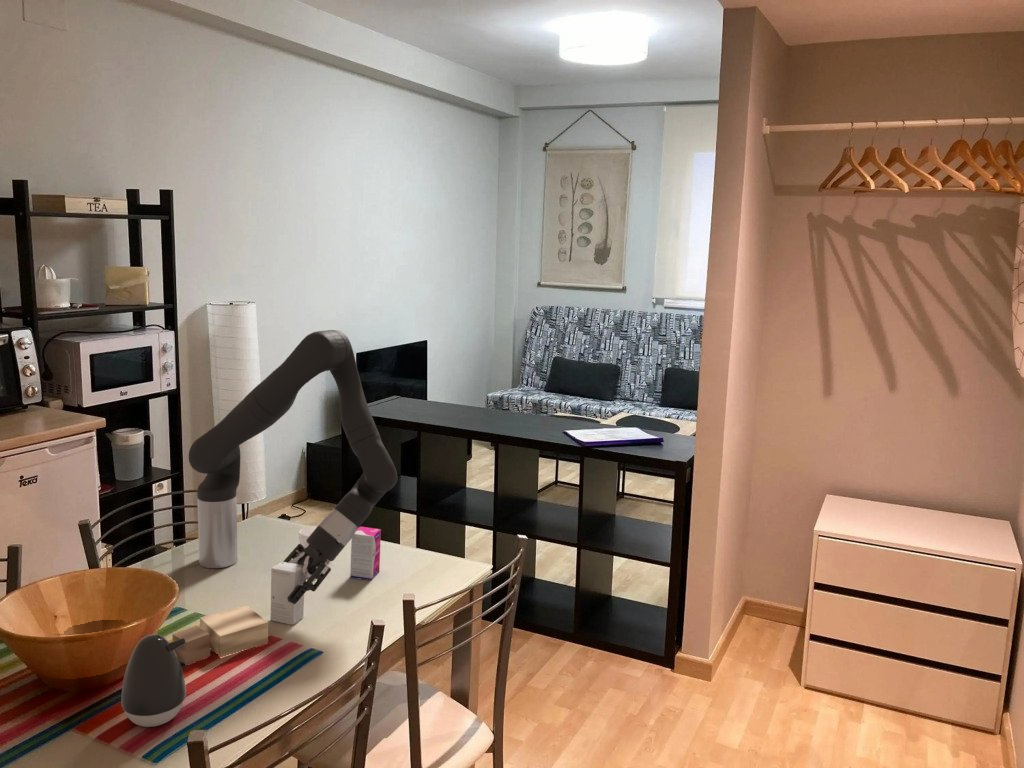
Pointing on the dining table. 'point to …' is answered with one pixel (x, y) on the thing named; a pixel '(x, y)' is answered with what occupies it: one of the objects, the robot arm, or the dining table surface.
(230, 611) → the beech block
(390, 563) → the dining table surface
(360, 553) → the supplement box
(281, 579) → the skincare box
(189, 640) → the tan wooden cube
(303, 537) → the cup
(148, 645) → the pump dispenser
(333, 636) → the dining table surface
